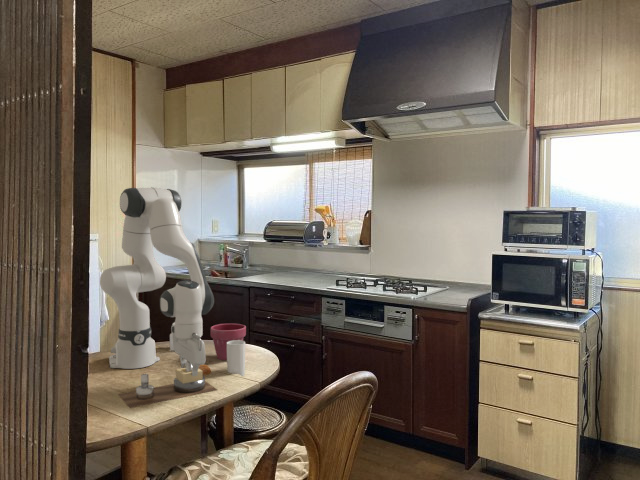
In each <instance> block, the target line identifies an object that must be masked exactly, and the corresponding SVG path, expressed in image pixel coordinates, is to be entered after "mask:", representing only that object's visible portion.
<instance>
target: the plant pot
mask: <svg viewBox="0 0 640 480" xmlns="http://www.w3.org/2000/svg"><path fill="white" fill-rule="evenodd" d="M246 335H247V326H246V325H245V324H240V323H219V324H215V325H213V326H210V338H212V341H213V346H214V350H215V353H216V358H217V359H218V360H220V361H227V342H229V341H233V340H241V341H244V337H246Z"/></svg>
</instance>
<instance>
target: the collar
mask: <svg viewBox="0 0 640 480" xmlns="http://www.w3.org/2000/svg"><path fill="white" fill-rule="evenodd" d="M203 376H204V375H203V371H202V370H200V369H198V375H197V376H192V375H191V372H187V373H186V368H181V367H180V368H176V369H175V378H177V379H178V380H179V381H180V382H182V383H183V384H184V383H189V382H194V381H200V380H203Z"/></svg>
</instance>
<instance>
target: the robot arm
mask: <svg viewBox="0 0 640 480" xmlns="http://www.w3.org/2000/svg"><path fill="white" fill-rule="evenodd" d="M119 208H120V211H121V212H122V214H123V215H125V217H124V221H123V226H122V227H123V229H122V230H123V231H122V241H121V249H122V250H123V253H125V254H126V255H128V256H129V257H131V258H132V259H133V264H128V265H127V264H126V265H125V264H124V265H116V266H113V267H109V268H105V269H104V270H103V271H102V273H101V274H100V278H99V285H100V287H101V290H102V291H103V292H104V293H105V294H107V295H108V296H109V297H111V298H112V300H113V301H114V303H115V304H116V307H117V310H118V316H119V329H118V331H117V335H118V336H117V338H118V339H117V341H116V342H115V344H114V346H111V347H110V354H111V355H109V356H108V362H109V369H125V370H129V369H140V368H145V367H149V366H151V365H154V364H155V363H156V362H159V361H160V359H161V357H160V356H157V354H156V353H157V352H156V342H155V340H154V339H153V338H152V337H151V336H152V327H151V324H150V323H151V319H150V315H151V314H150V308H149V306H148V305H147V304H145V303H144V302H142V301H139V300H138V297H137V294H138V293H144V292H145V293H146V292H152V291H154V290H158V289H161V288H162V287H163V286H164V285H165V283H166V280H167V273H166V271H165V268H163V266H162V265H161V264H159V263H158V261H157V260H156V258H155V255H154V249H156V251H158V252H159V253H161V254H162V255H165V256H168V257H171V258H174V259H177V260H179V261H181V262H182V263H183V264H185V266H186V268H187V271H188V274H189V277H190V280H187V279H186V280H180V281H178V282H177V283H176V285H175V286H174V287H173V288H169V289H166V290H164V291H163V292H162V294H161V295H160V297H159V311H160V312H161V313H162V314H163V315H164V316H165V317H168V318H169V317H170V318H175V319H174V322H175V325H174V326H172V325H171V326H170V327H171V328H170V329H171V330H170V331H171V333H173V348H174V351H173V352H174V353H175V354H177V355H178V356H179V360H180V369H181V368H186V362H187V361H189V362H190V363H192V370H191V375H192V376H197V375H198V369H199V365H206V359H207V358H206V347H205V346H206V345H205V342H204V340H203V339H201V338H202V336H203V334H204V333H203V331H204V330H203V326H204V325H203V323H204V322H203V317H202V315H208V313H209V312H210V311H211V310H212V308H213V307H214V304H215V297H214V294H213V291H212V289H211V286H210V285H209V283H208V279H207V277H206V274H205V271H204V267H203V265H202V262H201V259H200V256H199V253H198V250H197V249H196V246H195V244H194V243H193V242H191V241H190V240H189V239H188V238H187V237H186V235H185V232H184V229H183V223H182V218H181V215H180V211H181V210H182V198H181V195H180V193H179V192H178V191H176V190H174V189H171V188H167V189H166V188H161V187H152V186H151V187H127V188H125V189H124V190H123V191H122V193H120V197H119ZM153 248H154V249H153Z"/></svg>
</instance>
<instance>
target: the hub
mask: <svg viewBox="0 0 640 480" xmlns="http://www.w3.org/2000/svg"><path fill="white" fill-rule="evenodd" d="M191 370H192V363H190V362H189V361H187V362H186V373H187V372H191ZM205 381H206V378H205V375H203V380H200V381H194V382H189V383H184V384H183V383H182V382H180V381H179V380H178V379H177V378H176V377H175V378H174V379H173V384H174V391H176V392H178V393H195V392H199V391H201V390H203V389H204V388H205Z"/></svg>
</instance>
